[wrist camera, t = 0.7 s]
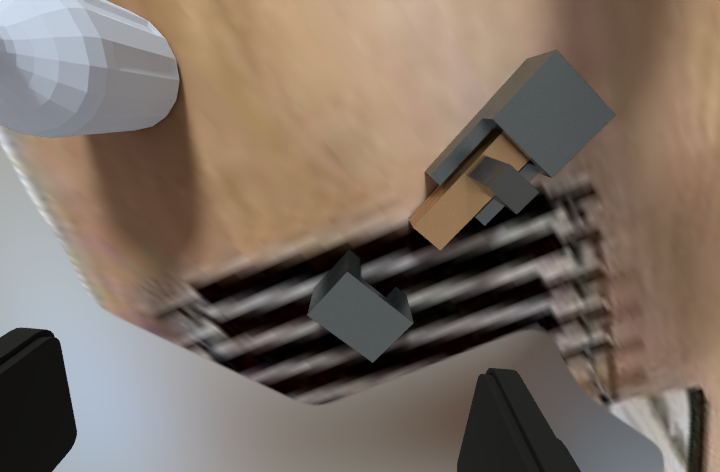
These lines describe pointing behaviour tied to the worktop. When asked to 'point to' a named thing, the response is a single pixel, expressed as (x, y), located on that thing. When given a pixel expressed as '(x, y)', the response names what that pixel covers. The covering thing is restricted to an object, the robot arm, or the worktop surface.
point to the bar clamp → (547, 156)
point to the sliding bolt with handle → (475, 189)
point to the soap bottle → (82, 69)
